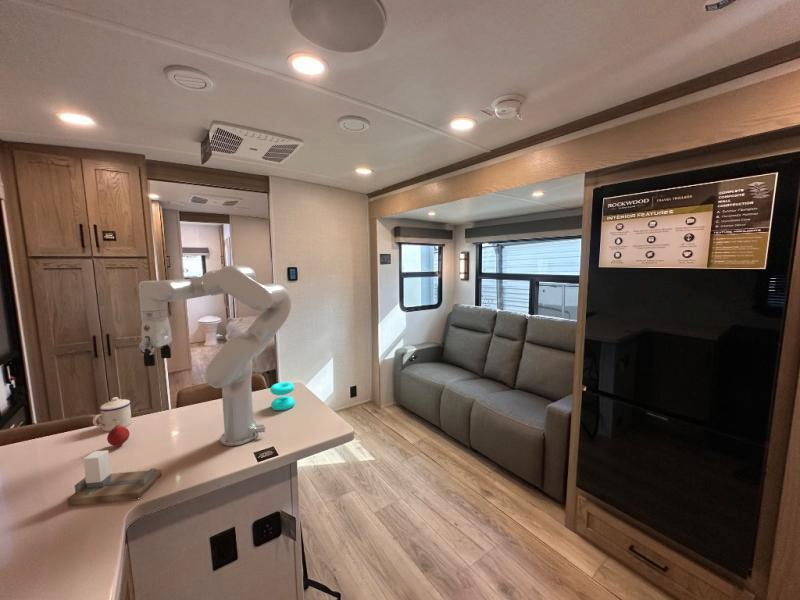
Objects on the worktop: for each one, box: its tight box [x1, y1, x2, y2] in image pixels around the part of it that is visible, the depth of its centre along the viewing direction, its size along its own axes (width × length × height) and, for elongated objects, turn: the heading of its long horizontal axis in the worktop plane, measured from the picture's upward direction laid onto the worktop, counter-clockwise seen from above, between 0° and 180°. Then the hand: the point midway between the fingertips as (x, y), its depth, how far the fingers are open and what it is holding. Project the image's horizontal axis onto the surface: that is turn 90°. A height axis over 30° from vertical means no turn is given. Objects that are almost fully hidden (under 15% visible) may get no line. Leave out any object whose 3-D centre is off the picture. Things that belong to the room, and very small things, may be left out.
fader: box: [82, 449, 112, 488], centre depth 89 cm, size 4×4×9 cm
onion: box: [106, 424, 130, 447], centre depth 113 cm, size 6×6×8 cm
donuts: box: [269, 381, 296, 411], centre depth 144 cm, size 10×10×10 cm
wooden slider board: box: [66, 467, 162, 507], centre depth 90 cm, size 17×10×4 cm, turn 98°
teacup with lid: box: [92, 396, 132, 432], centre depth 126 cm, size 12×9×12 cm
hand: (158, 361), depth 117 cm, fingers open, 9 cm apart
